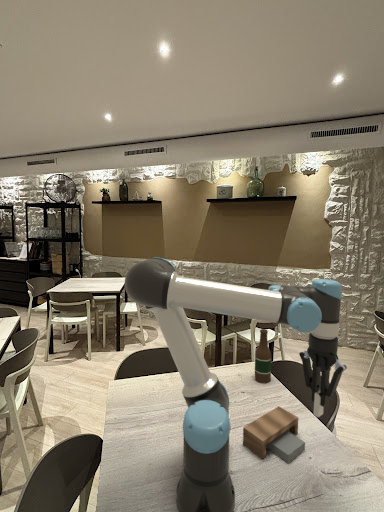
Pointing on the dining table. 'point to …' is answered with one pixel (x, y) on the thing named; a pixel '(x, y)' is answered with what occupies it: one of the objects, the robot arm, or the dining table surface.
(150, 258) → the robot arm
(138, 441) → the dining table surface
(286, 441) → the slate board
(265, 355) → the beer bottle
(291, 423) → the walnut arch bridge
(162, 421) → the dining table surface
